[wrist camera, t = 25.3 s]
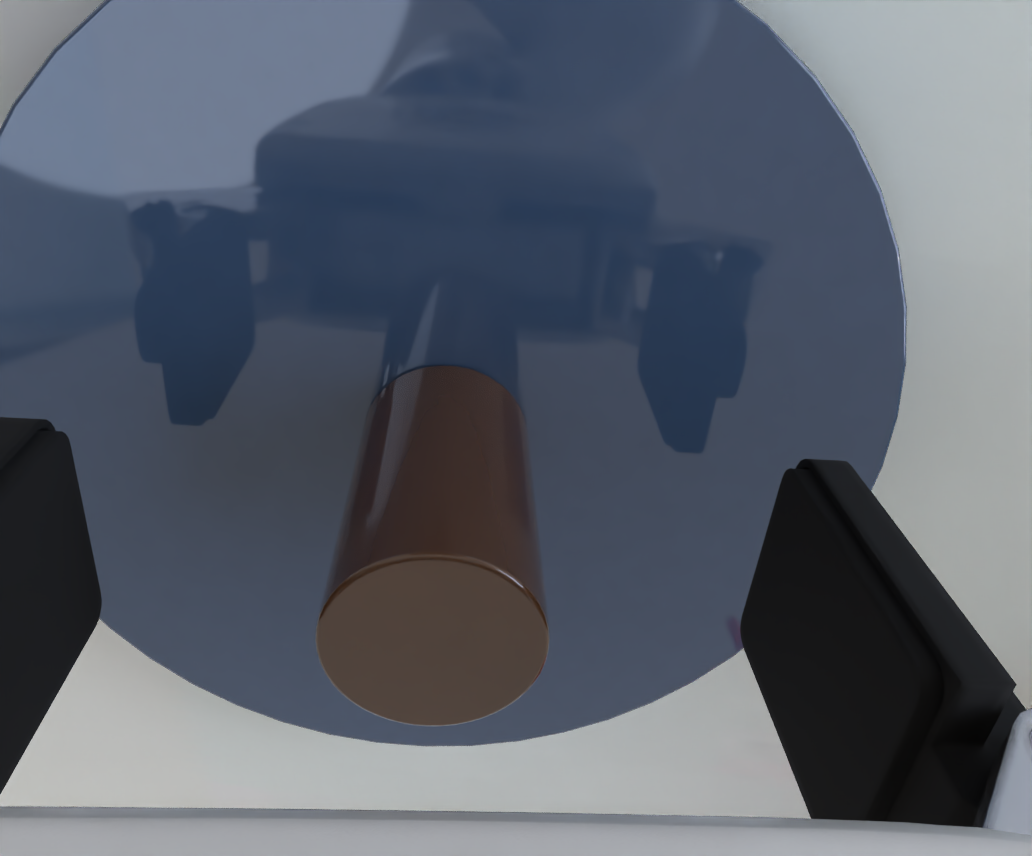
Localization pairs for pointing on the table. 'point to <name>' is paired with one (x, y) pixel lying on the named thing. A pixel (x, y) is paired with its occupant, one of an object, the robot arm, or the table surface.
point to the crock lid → (440, 341)
